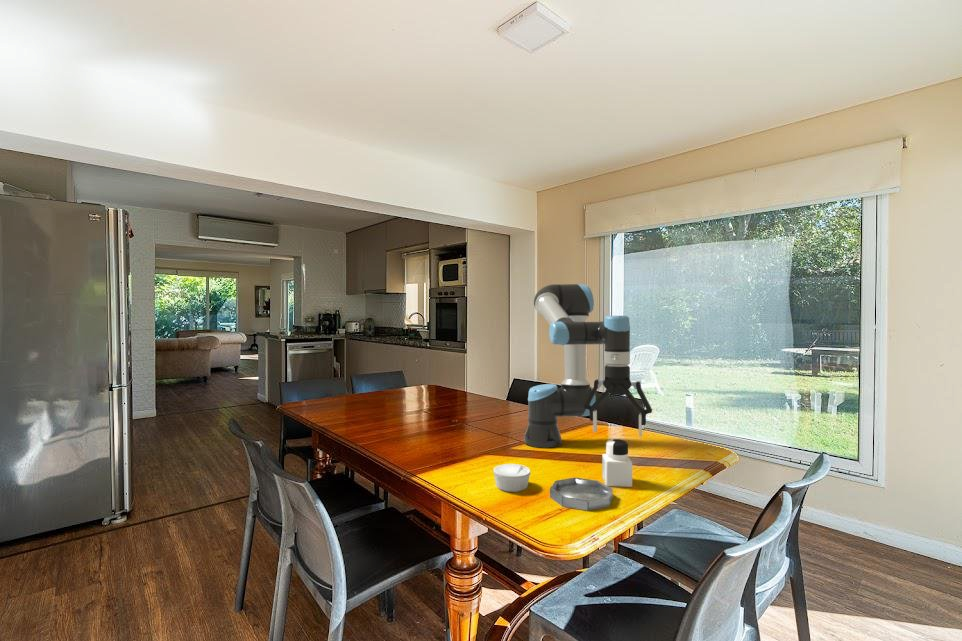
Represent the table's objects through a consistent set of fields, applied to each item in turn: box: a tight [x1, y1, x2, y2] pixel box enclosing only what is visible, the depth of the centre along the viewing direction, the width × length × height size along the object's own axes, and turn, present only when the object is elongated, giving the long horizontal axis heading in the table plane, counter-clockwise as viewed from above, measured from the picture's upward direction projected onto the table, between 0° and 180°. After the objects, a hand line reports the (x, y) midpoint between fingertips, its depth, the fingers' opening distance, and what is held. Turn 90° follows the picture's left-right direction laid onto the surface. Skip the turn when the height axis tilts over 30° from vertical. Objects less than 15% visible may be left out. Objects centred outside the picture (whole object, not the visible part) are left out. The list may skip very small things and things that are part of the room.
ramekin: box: [493, 463, 531, 493], centre depth 138 cm, size 11×11×5 cm
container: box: [601, 438, 633, 488], centre depth 141 cm, size 8×8×13 cm
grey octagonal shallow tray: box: [549, 477, 614, 511], centre depth 130 cm, size 17×17×2 cm
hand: (617, 433), depth 141 cm, fingers open, 13 cm apart
